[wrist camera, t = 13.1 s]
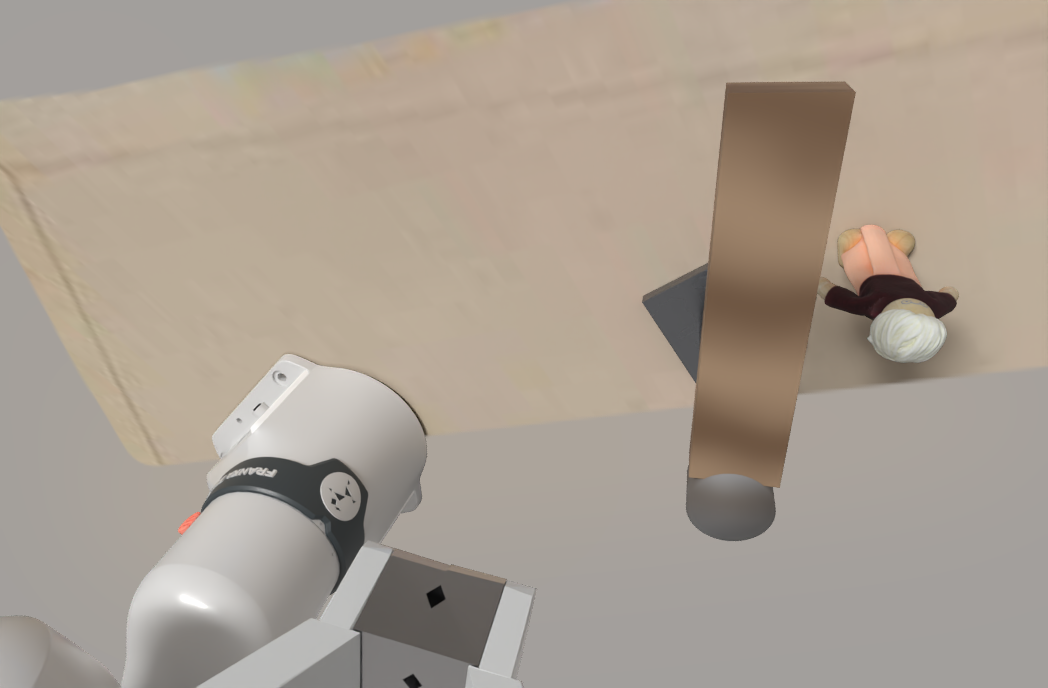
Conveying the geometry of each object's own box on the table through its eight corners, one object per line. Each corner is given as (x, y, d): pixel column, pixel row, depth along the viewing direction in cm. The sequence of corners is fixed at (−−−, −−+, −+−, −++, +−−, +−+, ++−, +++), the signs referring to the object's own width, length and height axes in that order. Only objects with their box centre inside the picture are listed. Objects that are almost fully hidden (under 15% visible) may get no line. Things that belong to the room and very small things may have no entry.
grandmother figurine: (934, 212, 41) (1013, 304, 31) (929, 269, 43) (1003, 375, 33) (799, 227, 44) (830, 317, 33) (800, 280, 45) (830, 383, 35)
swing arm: (765, 510, 34) (769, 546, 32) (684, 500, 35) (683, 534, 33) (843, 80, 24) (856, 93, 22) (726, 81, 25) (728, 93, 23)
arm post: (698, 378, 51) (695, 547, 37) (643, 296, 49) (617, 442, 34) (801, 334, 47) (843, 502, 33) (747, 242, 45) (767, 381, 31)
